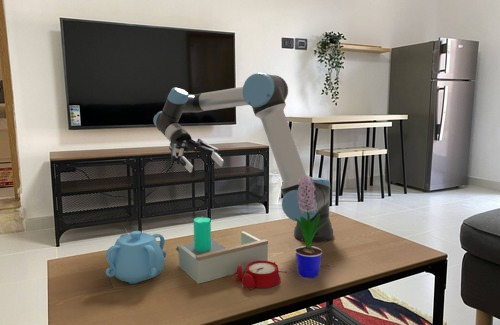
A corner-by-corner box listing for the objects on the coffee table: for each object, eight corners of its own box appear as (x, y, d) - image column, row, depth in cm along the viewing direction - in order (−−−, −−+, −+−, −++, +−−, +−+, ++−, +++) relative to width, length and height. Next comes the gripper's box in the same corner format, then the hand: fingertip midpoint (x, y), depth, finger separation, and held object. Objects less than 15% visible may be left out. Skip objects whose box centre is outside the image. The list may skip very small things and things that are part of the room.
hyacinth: (319, 284, 107) (321, 181, 103) (288, 274, 114) (289, 177, 109) (332, 273, 114) (335, 176, 110) (302, 264, 120) (304, 172, 116)
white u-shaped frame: (244, 250, 133) (244, 228, 132) (267, 264, 121) (268, 240, 120) (179, 266, 120) (178, 242, 119) (198, 284, 108) (197, 257, 107)
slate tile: (211, 240, 142) (211, 238, 142) (230, 252, 131) (230, 250, 131) (176, 248, 135) (176, 246, 135) (192, 261, 123) (192, 259, 123)
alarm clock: (290, 271, 108) (242, 269, 101) (286, 293, 108) (237, 292, 101) (273, 258, 117) (228, 255, 111) (269, 277, 118) (224, 276, 111)
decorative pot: (173, 265, 121) (171, 224, 119) (154, 289, 105) (152, 242, 103) (124, 263, 123) (122, 223, 121) (99, 286, 107) (96, 240, 105)
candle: (190, 248, 133) (189, 215, 131) (203, 243, 137) (202, 211, 135) (201, 252, 129) (201, 218, 127) (214, 247, 133) (214, 215, 131)
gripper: (202, 141, 160) (231, 169, 147) (148, 148, 143) (175, 180, 131) (206, 125, 156) (236, 153, 144) (151, 131, 140) (179, 163, 127)
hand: (207, 166), depth 137 cm, fingers open, 13 cm apart
